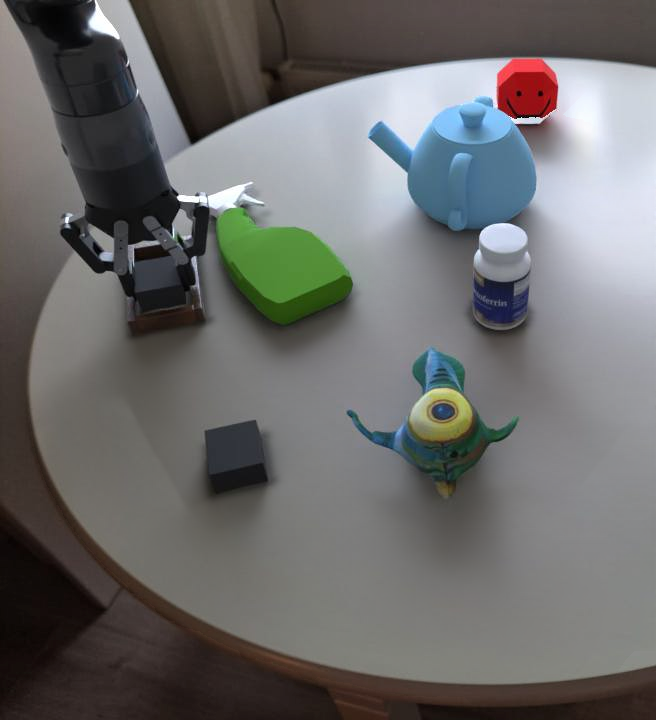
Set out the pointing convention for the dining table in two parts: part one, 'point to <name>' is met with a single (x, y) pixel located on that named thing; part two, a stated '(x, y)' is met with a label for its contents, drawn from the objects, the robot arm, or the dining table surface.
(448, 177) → the teapot
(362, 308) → the dining table surface
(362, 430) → the decorative fish
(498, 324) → the pill bottle
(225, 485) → the pad
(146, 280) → the pad
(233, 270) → the spray bottle
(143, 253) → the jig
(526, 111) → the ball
